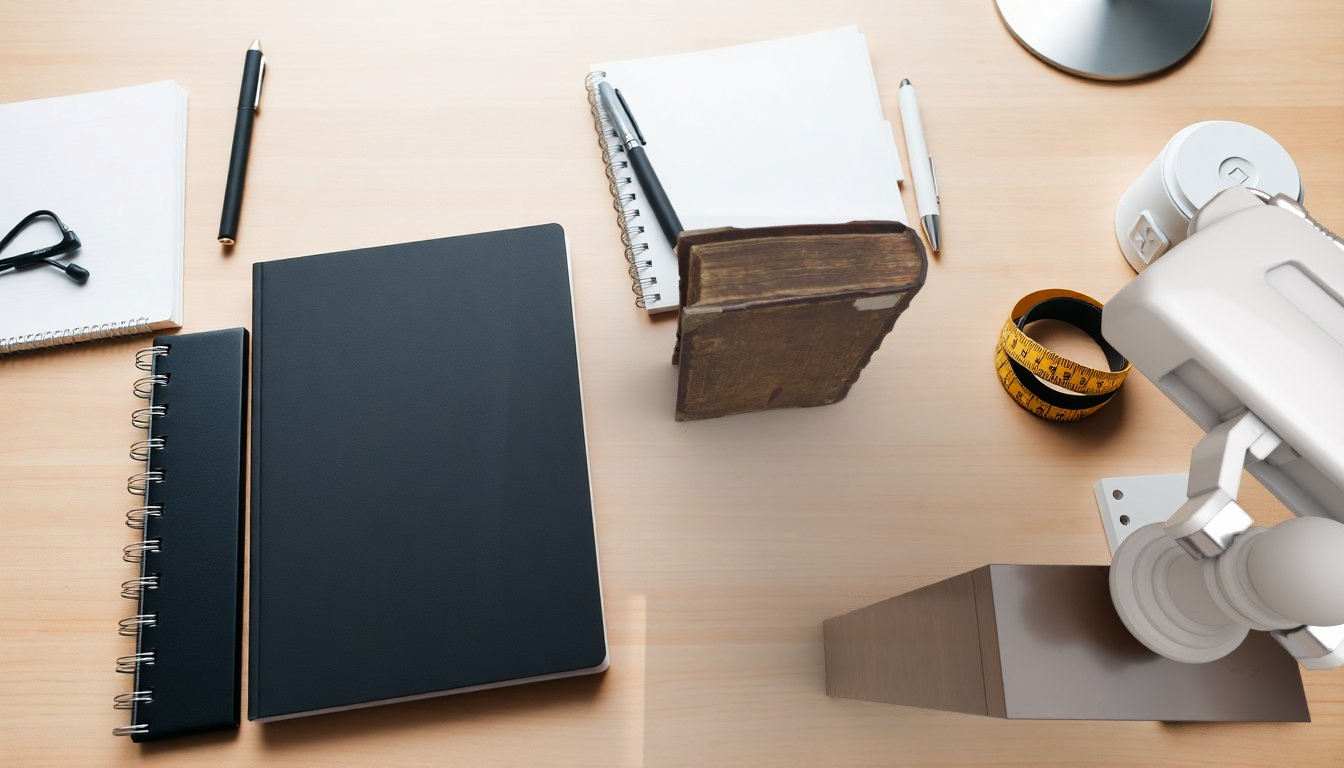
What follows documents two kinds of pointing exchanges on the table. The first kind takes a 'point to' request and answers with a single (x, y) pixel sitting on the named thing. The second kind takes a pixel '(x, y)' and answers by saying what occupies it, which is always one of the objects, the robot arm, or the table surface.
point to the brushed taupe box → (1045, 655)
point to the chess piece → (1228, 587)
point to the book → (787, 311)
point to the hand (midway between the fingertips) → (1243, 597)
